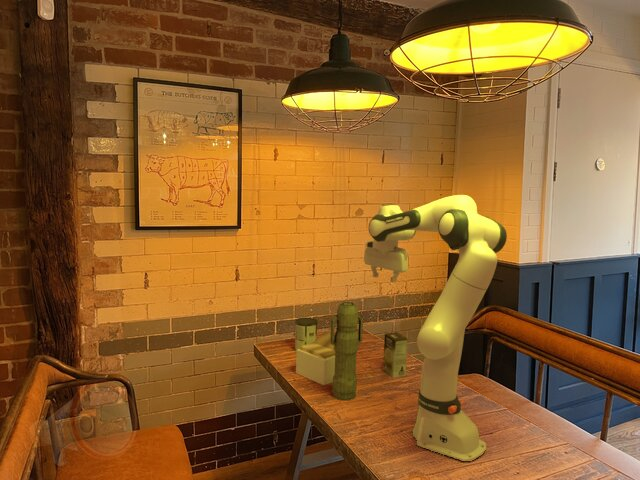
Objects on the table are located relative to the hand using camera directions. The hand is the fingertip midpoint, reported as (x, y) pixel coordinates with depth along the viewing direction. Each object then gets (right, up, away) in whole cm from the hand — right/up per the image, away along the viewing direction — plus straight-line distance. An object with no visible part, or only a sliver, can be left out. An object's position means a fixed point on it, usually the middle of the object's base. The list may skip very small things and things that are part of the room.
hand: (384, 279), depth 196 cm
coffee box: (+5, -40, +9) cm, 41 cm away
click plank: (-20, -27, +8) cm, 35 cm away
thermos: (-17, -42, -13) cm, 47 cm away
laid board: (-26, -30, +3) cm, 39 cm away
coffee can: (-32, -36, +33) cm, 59 cm away
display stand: (-24, -39, +7) cm, 46 cm away
